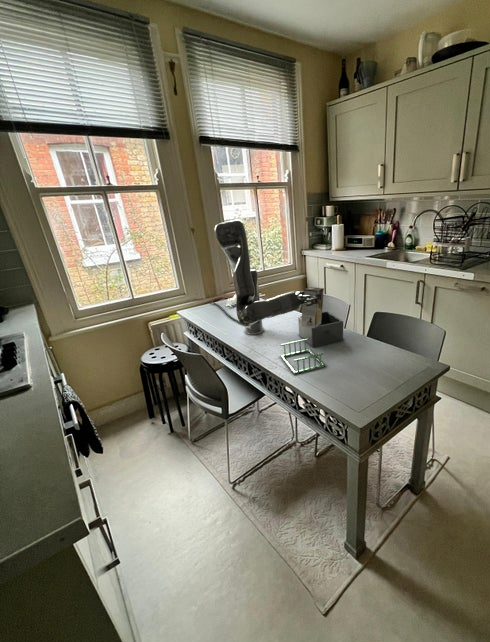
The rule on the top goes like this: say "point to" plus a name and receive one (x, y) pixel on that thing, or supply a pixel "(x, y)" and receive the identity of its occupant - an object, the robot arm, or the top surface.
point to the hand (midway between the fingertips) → (313, 294)
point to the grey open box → (323, 330)
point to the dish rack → (302, 358)
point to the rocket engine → (231, 301)
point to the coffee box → (312, 309)
